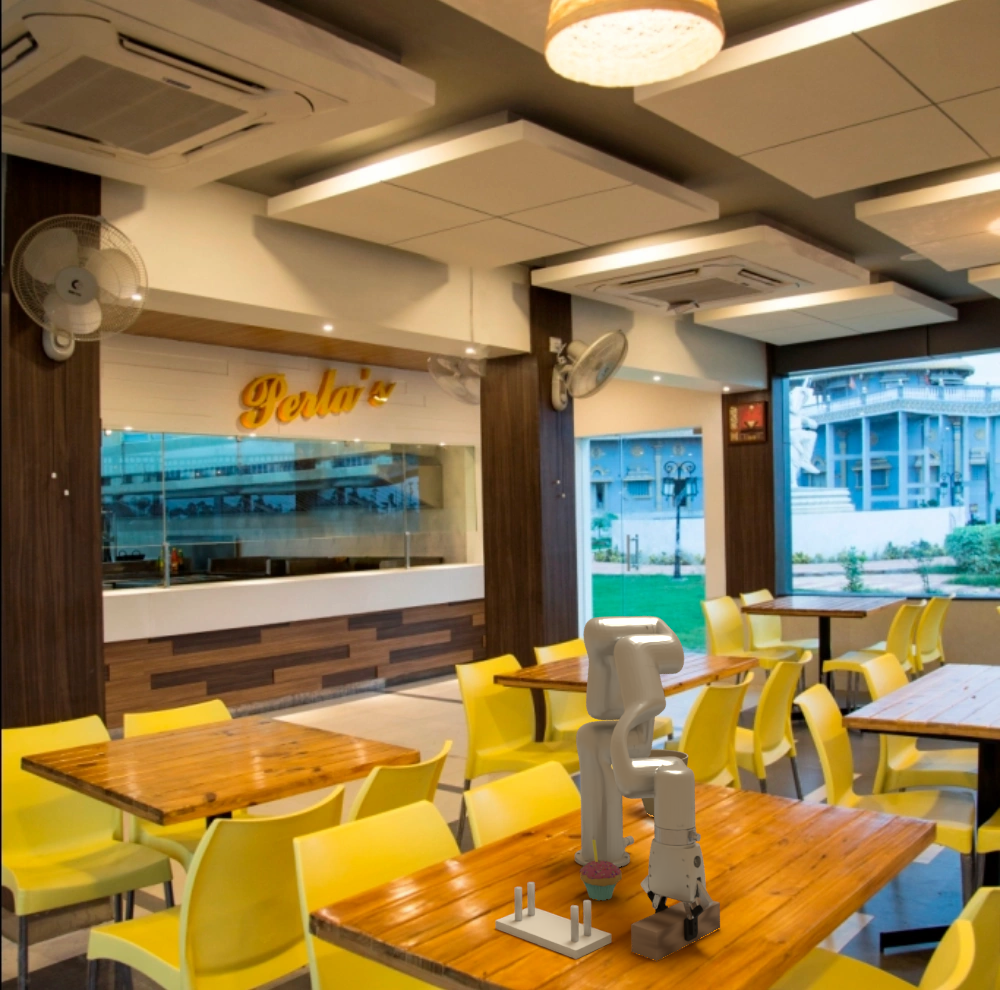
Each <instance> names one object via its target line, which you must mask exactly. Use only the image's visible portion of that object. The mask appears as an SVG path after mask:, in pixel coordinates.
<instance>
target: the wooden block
mask: <svg viewBox="0 0 1000 990" xmlns="http://www.w3.org/2000/svg"><path fill="white" fill-rule="evenodd" d="M696 898H697V901H698V905H699V904H700V903H701V899H700V898H698V897H696ZM712 901H713V904H712V905H710V906H709V907H708V908H706V909H705V910H704V911H703V912H702V913H701V914H700V916H698V934H697V937H696V938H694V939H692V940H690V941H685V939H684V919H685V918H687V915H686V911H685V908H684V904H683V902H681V901H679V902H678V903H675V904H673V905H671V906H668V908H666V909H664V910H662V911H660V912H657V913H653V914H651V915H649V916H647V917H645V918H642V919H640V920H638V921H636V922H633V923H632V924H630V925H631V926H630V927H631V931H630V932H631V936H630V937H631V938H630V939H631V953H632V952H634V953H633V954H635V953H637V954H636V955H638V954H640V955H643V956H645V957H644V958H646V957H648V958H650V959H649V960H651V959H654V960H656V961H655V962H658V961H657V960H659V959H661V960H662V958H663V957H665V956H667V955H669V954H671V953H673V952H675V951H676V952H678V951H680V950H682V949H683V948H682V947H684V946H686V945H688V944H690V943H692V942H694V941H696V942H698V941H699V940H698V939H700V938H701V937H703V936H705V935H707V934H709V933H711V932H713V931H714V930H716V929H718V928H720V929H721V909H720V908H721V906H720V903H721V902H719V901H715V900H712ZM691 907H692V905H691ZM692 910H693V909H692ZM697 940H698V941H697ZM700 940H701V939H700ZM694 943H695V942H694ZM692 944H693V943H692ZM690 945H691V944H690ZM688 946H689V945H688ZM686 947H687V946H686ZM681 948H682V949H681ZM684 948H685V947H684ZM679 949H680V950H679ZM677 950H678V951H677ZM676 952H675V953H676ZM673 954H674V953H673ZM640 955H639V956H640ZM671 955H672V954H671ZM643 956H642V957H643ZM669 956H670V955H669ZM667 957H668V956H667ZM648 958H647V959H648ZM665 958H666V957H665ZM663 959H664V958H663ZM654 960H653V961H654ZM659 961H660V960H659Z"/></svg>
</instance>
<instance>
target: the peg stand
mask: <svg viewBox="0 0 1000 990" xmlns="http://www.w3.org/2000/svg"><path fill="white" fill-rule="evenodd" d="M526 884H527V888H526V889H527V890H526V891H527V907H526V908H524V909H523V887H522V886H516V887H515V886H514V912H513V913H511V914H508V915H505V916H504V917H501V918H498V919H495V929H496V930H499V931H501V932H504V933H506V934H510V935H512V936H514V937H517V938H520V939H522V940H525V941H527V942H530V943H533V944H535V945H538V946H541V947H543V948H546V949H548V950H551V951H554V952H556V953H560V955H561V954H562V955H564V956H566V957H569V958H572V959H575V960H578V959H580V958H582V957H584V956H586V955H588V954H591V953H592V952H595V951H596V950H599V949H600V948H603V947H604V946H607V945H609V944H611V943H612V933H610V932H606V931H604V930H600V929H598V928H595V927H592V900H589V899H584V900H583V901H582V902H583V903H582V904H583V907H582V909H583V912H582V913H583V923H580V922H579V921H580V919H579V905H574V904H572V905H571V906H570V919H569V918H566V917H564V916H563V917H562V916H560V915H557V914H554V913H552V912H549V911H546V910H544V909H540V908H537V907H536V903H535V901H536V894H535V893H536V891H535V890H536V885H535V884H536V882H534V881H528V882H527V883H526Z"/></svg>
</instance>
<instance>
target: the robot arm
mask: <svg viewBox="0 0 1000 990" xmlns="http://www.w3.org/2000/svg"><path fill="white" fill-rule="evenodd" d="M583 643H584V646H585V650H586V653H587V659H588V668H587V684H586V695H585V696H586V697H585V706H586V711H587V714H588V715H589V716H590V717H591V718H592V719H594V720H597V721H590V722H585V723H584V724H582V725H581V726H580V727H578V730H577V732H576V736H575V737H576V738H575V742H576V743H575V744H576V750H577V755H578V762H579V772H580V773H579V774H580V829H581V830H580V835H581V836H580V837H581V838H580V841H581V845H580V847H581V849H580V850H577V851H576V852H575V854H574V861H575V862H576V863H577V864H578V865H581V866H582V867H583V866H584V865H586V864H587V863H589V862H590V861H595V858H594V850H593V842H592V840H593V837H594V840H595V841H596V849H597V857H598V860H600V861H607V862H611V863H613V864H614V865H616V866H617V867H618V868H621V866H622V867H625V866H626V865H628V864H629V863H630V861H631V856H630V853H628V852H627V851H626V848H627V847H629V846H631V845H633V844H634V843H635V838H634V837H633V836H632V835H628V836H626V837H624V835H623V834H624V833H623V832H624V830H623V829H624V826H623V825H624V824H623V823H624V820H623V819H624V818H623V817H624V816H623V811H624V810H623V797H624V798H626V799H633V800H634V799H635V800H636V799H641V798H654V818H653V822H654V823H653V824H654V826H653V828H654V830H653V831H654V838H653V839H652V840H651V843H650V849H649V855H648V875H646V876H645V878H644V879H643V880H642V881H641V882H640V886H641V888H642V889H643V891H644V892H645V893H646V894H647V897H648V900H649V901H650V902H651V904H652V905H651V906H652V908H653V909H654V910H655V911H654V912H655V913H657V912H660V911H662V910H664V909H666V908H669V906H668V905H666V904H667V901H668V899H671V900H674V901H678V902H683V904H684V908H685V911H686V915H687V918H685V919H684V939H685V941H690V940H692V939H694V938H696V937H697V934H698V916H700V914H701V913H702V912H703V911H704V910H705V909H706V908H708V907H709V906H710V905H712V904H713V901H714V900H713V899H712V897H711V896H710V894H709V893H708V891H707V888H706V887H707V886H706V873H705V864H704V856H703V852H702V848H701V844H700V843H698V842H700V841H701V838H702V837H701V833H697V829H696V828H697V827H696V794H695V793H696V791H695V790H696V789H695V788H696V785H695V784H696V783H695V781H696V780H695V773H694V771H693V770H692V769H691V768H690V767H688V765H687V766H686V765H685V763H684V762H683V761H682V760H681V759H680V758H678V757H672V756H668V757H649V755H650V753H651V750H653V749H652V748H653V742H654V741H653V739H654V730H655V718H656V717H657V716H659V715H660V714H662V712H664V711H665V709H666V706H667V701H666V700H667V699H666V697H665V692H664V688H663V683H662V682H663V681H662V679H661V678H662V677H661V675H674V674H675V675H676V674H678V673H680V672H681V670H683V667H684V664H685V652H684V649H683V648H684V647H683V645H682V643H681V641H680V639H679V637H678V636H677V634H676V633H675V632H674V631H673V629H671V628H670V626H668V624H667V623H666V622H665V621H664V620H663V619H661V618H660V617H658V616H651V615H648V616H647V615H642V616H641V615H640V616H637V615H635V616H625V615H624V616H623V615H622V616H621V615H620V616H599V617H592V618H589V620H588V621H587V622H586V623H585V624H584V628H583ZM592 836H593V837H592ZM696 897H698V898H700V899H701V903H700V904H699V905H698V901H697V898H696ZM691 905H692V907H691ZM692 909H693V910H692ZM655 913H654V914H655Z"/></svg>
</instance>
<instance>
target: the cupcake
mask: <svg viewBox="0 0 1000 990" xmlns="http://www.w3.org/2000/svg"><path fill="white" fill-rule="evenodd" d="M592 837H593V836H592ZM592 842H593V850H594V858H595V861H590V862H589V863H587V864H586V865H584V866H583V865H582V867H581V868H580V870H579V873H580V876H579V877H580V880H581V881H582V882H583V884H584V886H585V888H586V891H587V894H588V897H589V899H591V898H592V899H591V900H594V899H597V900H596V901H600V900H602V901H607V900H606V899H608V900H610V899H612V898H613V894H614V891H615V887H616V885H617V883H619V881H621V880H622V875H623V874H622V871H621V869H620V867H617V866H616V865H614V864H613V863H611V862H607V861H600V860H598V857H597V849H596V841H595V840H594V837H593V840H592Z"/></svg>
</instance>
